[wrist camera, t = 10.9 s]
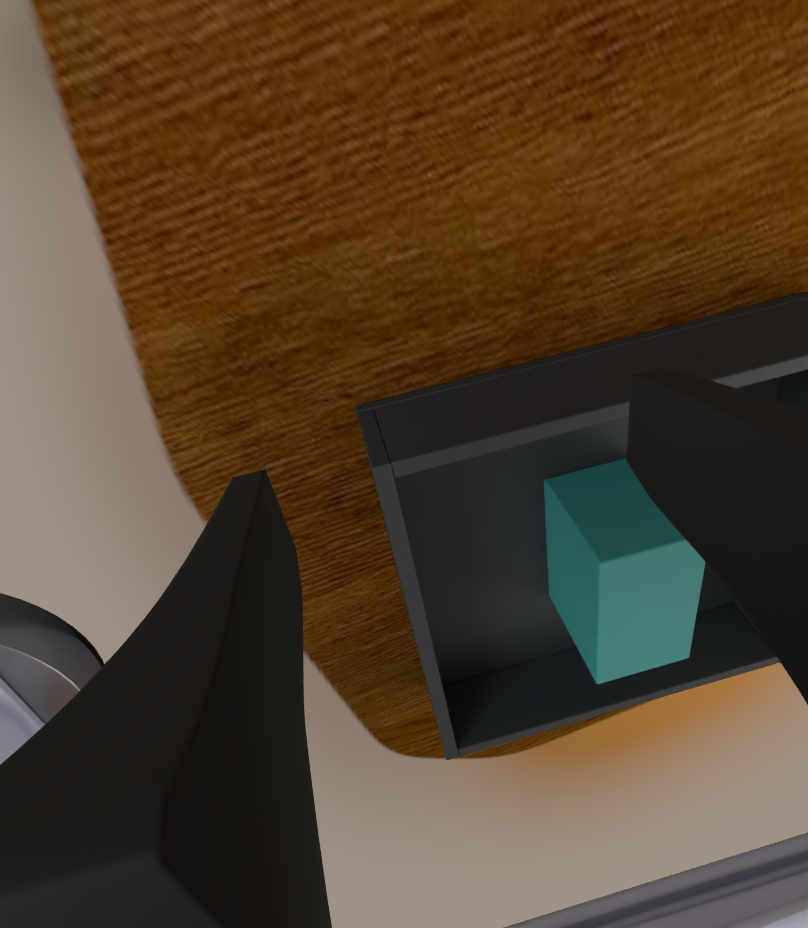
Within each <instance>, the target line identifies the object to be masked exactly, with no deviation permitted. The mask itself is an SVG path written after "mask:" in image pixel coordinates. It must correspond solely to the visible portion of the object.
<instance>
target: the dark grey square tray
mask: <svg viewBox="0 0 808 928" xmlns="http://www.w3.org/2000/svg"><path fill="white" fill-rule="evenodd" d="M660 367H662V368H667V369H672V370H676V371H680V372H684V373H687V374H691V375H694V376H698V377H701V378H704V379H708V380H711V381H714V382H717V383H721V384H724V385H727V386H730V387H733V388H737V389H740V390H743V391H746V392H750V393H753V394H756V395H759V396H763V397H766V398H770V399H773V400H776V401H780V402H783V403H787V404H790V405H794V406H797V407H801V408H805V409H808V293H807V292H803V293H799V294H795V295H791V296H787V297H783V298H779V299H775V300H771V301H767V302H763V303H759V304H755V305H751V306H747V307H743V308H740V309H736V310H732V311H728V312H724V313H720V314H716V315H712V316H708V317H704V318H700V319H696V320H692V321H688V322H684V323H680V324H676V325H673V326H669V327H665V328H661V329H657V330H653V331H649V332H645V333H641V334H637V335H633V336H629V337H625V338H621V339H617V340H613V341H610V342H606V343H602V344H598V345H594V346H590V347H586V348H582V349H578V350H574V351H570V352H566V353H562V354H558V355H554V356H550V357H546V358H543V359H539V360H535V361H531V362H527V363H523V364H519V365H515V366H511V367H507V368H503V369H499V370H495V371H491V372H487V373H483V374H479V375H476V376H472V377H468V378H464V379H460V380H456V381H452V382H448V383H444V384H440V385H436V386H432V387H428V388H424V389H420V390H416V391H413V392H409V393H405V394H401V395H397V396H393V397H389V398H385V399H381V400H377V401H373V402H369V403H365V404H361V405H357V406H356V407H355V409H356V413H357V417H358V421H359V424H360V428H361V432H362V436H363V440H364V444H365V448H366V452H367V455H368V459H369V463H370V467H371V471H372V475H373V479H374V483H375V486H376V490H377V494H378V498H379V502H380V506H381V510H382V514H383V517H384V521H385V525H386V529H387V533H388V537H389V541H390V545H391V548H392V552H393V556H394V560H395V564H396V568H397V572H398V576H399V580H400V583H401V587H402V591H403V595H404V599H405V603H406V607H407V611H408V614H409V618H410V622H411V626H412V630H413V634H414V638H415V642H416V645H417V649H418V653H419V657H420V661H421V665H422V669H423V673H424V676H425V680H426V684H427V688H428V692H429V696H430V699H431V703H432V707H433V711H434V715H435V718H436V722H437V726H438V730H439V734H440V737H441V741H442V745H443V749H444V752H445V756H446V759H447V760H450V759H453V758H456V757H459V756H462V755H466V754H469V753H473V752H476V751H479V750H483V749H486V748H490V747H493V746H497V745H500V744H503V743H507V742H510V741H514V740H517V739H520V738H524V737H527V736H531V735H534V734H537V733H541V732H544V731H548V730H551V729H555V728H558V727H561V726H565V725H568V724H572V723H575V722H578V721H582V720H585V719H589V718H592V717H596V716H599V715H602V714H606V713H609V712H613V711H616V710H619V709H623V708H626V707H630V706H633V705H636V704H640V703H643V702H647V701H650V700H654V699H657V698H660V697H664V696H667V695H670V694H674V693H677V692H681V691H684V690H687V689H691V688H694V687H697V686H701V685H705V684H708V683H712V682H715V681H718V680H722V679H725V678H729V677H732V676H735V675H739V674H742V673H745V672H749V671H753V670H756V669H759V668H763V667H766V666H769V665H773V664H776V663H777V662H778V663H780V661H779V659H778V658H777V656H776V654H775V653H774V651H773V650H772V648H771V647H770V645H769V644H768V642H767V641H766V639H765V638H764V637H763V635H762V634H761V632H760V631H759V630H758V628H757V627H756V625H755V624H754V622H753V621H752V620H751V618H750V617H749V615H748V614H747V612H746V611H745V610H744V608H743V607H742V605H741V604H740V603H739V601H738V600H737V599H736V597H735V596H734V595H733V594H732V592H731V591H730V590H729V589H728V587H727V586H726V585H725V584H724V582H723V581H722V580H721V579H720V578H719V577H718V575H717V574H716V573H715V572H714V571H713V570H712V569H711V568H710V566H709V565H708V564H707V563H706V562H705V568H704V574H703V580H702V585H701V591H700V597H699V603H698V609H697V614H696V620H695V626H694V632H693V638H692V643H691V649H690V655H689V658H687V659H683V660H680V661H676V662H673V663H670V664H666V665H663V666H659V667H656V668H652V669H649V670H645V671H642V672H639V673H635V674H632V675H628V676H625V677H621V678H618V679H614V680H611V681H607V682H604V683H601V684H597V683H596V682H595V680H594V678H593V676H592V674H591V672H590V671H589V669H588V667H587V665H586V663H585V661H584V659H583V658H582V656H581V654H580V652H579V650H578V648H577V646H576V645H575V643H574V641H573V639H572V637H571V635H570V633H569V632H568V630H567V628H566V626H565V624H564V622H563V620H562V618H561V617H560V615H559V613H558V611H557V609H556V607H555V605H554V604H553V602H552V600H551V598H550V596H549V584H548V562H547V541H546V519H545V498H544V480H545V479H548V478H551V477H555V476H559V475H563V474H566V473H570V472H574V471H578V470H581V469H585V468H589V467H593V466H596V465H600V464H604V463H608V462H611V461H615V460H619V459H623V458H626V457H627V439H628V421H629V403H630V384H631V375H633V374H637V373H640V372H644V371H648V370H652V369H656V368H660Z"/></svg>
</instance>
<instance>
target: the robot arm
mask: <svg viewBox="0 0 808 928" xmlns="http://www.w3.org/2000/svg"><path fill="white" fill-rule="evenodd" d="M626 461H627V462H628V464H629V465H630V467H631V469H632V470H633V472H634V474H635V475H636V477H637V479H638V480H639V482H640V483H641V485H642V486H643V488H644V489H645V491H646V492H647V494H648V495H649V497H650V498H651V500H652V501H653V502H654V503H655V504H656V506H657V507H658V508H659V509H660V510H661V512H662V513H663V514H664V515H665V516H666V517H667V519H668V520H669V521H670V522H671V523H672V524H673V525H674V527H675V528H676V529H677V530H678V531H679V532H680V533H681V535H682V536H683V537H684V538H685V539H686V540H687V541H688V543H689V544H690V545H691V546H692V547H693V548H694V549H695V551H696V552H697V553H698V554H699V555H700V556H701V557H702V558H703V560H704V561H705V562H706V563H707V564H708V565H709V566H710V568H711V569H712V570H713V571H714V572H715V573H716V574H717V575H718V577H719V578H720V579H721V580H722V581H723V582H724V584H725V585H726V586H727V587H728V589H729V590H730V591H731V592H732V594H733V595H734V596H735V597H736V599H737V600H738V601H739V603H740V604H741V605H742V607H743V608H744V610H745V611H746V612H747V614H748V615H749V617H750V618H751V620H752V621H753V622H754V624H755V625H756V627H757V628H758V630H759V631H760V632H761V634H762V635H763V637H764V638H765V639H766V641H767V642H768V644H769V645H770V647H771V648H772V650H773V651H774V653H775V654H776V656H777V658H778V659H779V661H780V662H781V664H782V665H783V667H784V668H785V670H786V671H787V673H788V674H789V676H790V677H791V679H792V680H793V682H794V683H795V685H796V686H797V688H798V689H799V691H800V693H801V694H802V696H803V698H804V699H805V701H806V703H807V704H808V409H805V408H801V407H797V406H794V405H790V404H787V403H783V402H780V401H776V400H773V399H770V398H766V397H763V396H759V395H756V394H753V393H750V392H746V391H743V390H740V389H737V388H733V387H730V386H727V385H724V384H721V383H717V382H714V381H711V380H708V379H704V378H701V377H698V376H694V375H691V374H687V373H684V372H680V371H676V370H672V369H667V368H662V367H660V368H656V369H652V370H648V371H644V372H640V373H637V374H633V375H631V384H630V403H629V421H628V439H627V457H626ZM303 693H304V687H303V601H302V588H301V580H300V573H299V566H298V559H297V553H296V547H295V545H294V542H293V540H292V537H291V535H290V532H289V529H288V527H287V524H286V522H285V519H284V517H283V514H282V511H281V509H280V506H279V504H278V501H277V498H276V496H275V493H274V491H273V488H272V486H271V483H270V480H269V478H268V475H267V473H266V470H265V469H264V470H260V471H257V472H253V473H249V474H245V475H241V476H237V477H233V479H232V480H231V482H230V483H229V485H228V487H227V489H226V490H225V492H224V494H223V496H222V498H221V499H220V501H219V503H218V505H217V507H216V509H215V510H214V512H213V514H212V516H211V518H210V519H209V521H208V523H207V525H206V527H205V528H204V530H203V532H202V534H201V535H200V537H199V538H198V540H197V542H196V544H195V545H194V547H193V549H192V550H191V552H190V554H189V556H188V557H187V559H186V560H185V562H184V563H183V565H182V566H181V568H180V569H179V571H178V572H177V574H176V575H175V577H174V578H173V580H172V581H171V583H170V585H169V586H168V587H167V589H166V590H165V592H164V593H163V595H162V596H161V597H160V599H159V600H158V602H157V603H156V604H155V605H154V607H153V608H152V610H151V611H150V612H149V613H148V615H147V616H146V617H145V618H144V620H143V621H142V622H141V623H140V625H139V626H138V627H137V628H136V629H135V631H134V632H133V633H132V634H131V636H130V637H129V638H128V639H127V640H126V641H125V643H124V644H123V645H122V646H121V647H120V648H119V650H118V651H117V652H116V653H115V654H114V655H113V656H112V657H111V658H110V659H109V660H108V661H107V662H106V663H105V664H104V666H103V667H102V668H101V669H100V670H99V671H98V672H97V673H96V674H95V675H94V676H93V677H92V678H91V679H90V680H89V682H88V683H87V684H86V685H85V686H84V687H83V688H82V689H81V690H80V691H79V692H78V693H77V694H76V695H75V696H74V697H73V698H72V699H71V700H70V701H69V702H68V703H67V704H66V705H65V706H64V707H63V708H62V709H61V710H60V711H59V712H58V713H57V714H56V715H55V716H54V717H53V718H51V719H50V720H49V721H48V722H47V723H46V724H44V723H43V722H42V721H41V720H40V718H39V717H38V716H37V715H36V714H35V713H34V712H33V711H32V710H31V709H30V708H29V707H28V706H27V705H26V704H25V703H24V702H23V701H22V700H21V699H20V698H19V697H18V696H17V694H16V693H15V692H14V691H13V690H12V689H11V688H10V687H9V686H8V685H7V684H6V683H5V682H4V681H3V680H2V679H1V678H0V928H332V925H331V919H330V912H329V906H328V899H327V892H326V885H325V879H324V871H323V864H322V857H321V850H320V843H319V836H318V828H317V820H316V812H315V805H314V797H313V789H312V781H311V773H310V764H309V755H308V747H307V737H306V730H305V716H304V694H303ZM504 928H808V833H805V834H802V835H799V836H796V837H793V838H790V839H786V840H783V841H780V842H777V843H774V844H770V845H767V846H764V847H760V848H758V849H754V850H751V851H748V852H745V853H741V854H738V855H735V856H732V857H728V858H725V859H722V860H719V861H716V862H713V863H709V864H706V865H703V866H700V867H696V868H693V869H690V870H687V871H684V872H680V873H677V874H674V875H671V876H668V877H664V878H661V879H658V880H655V881H652V882H648V883H645V884H642V885H639V886H636V887H632V888H629V889H626V890H623V891H620V892H616V893H613V894H610V895H607V896H604V897H601V898H597V899H594V900H591V901H588V902H584V903H581V904H578V905H575V906H572V907H568V908H565V909H562V910H559V911H556V912H552V913H549V914H546V915H543V916H540V917H537V918H533V919H530V920H527V921H524V922H520V923H517V924H514V925H511V926H508V927H504Z"/></svg>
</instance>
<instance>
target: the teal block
mask: <svg viewBox="0 0 808 928" xmlns="http://www.w3.org/2000/svg"><path fill="white" fill-rule="evenodd" d="M544 498H545V519H546V541H547V562H548V584H549V596H550V598H551V600H552V602H553V604H554V605H555V607H556V609H557V611H558V613H559V615H560V617H561V618H562V620H563V622H564V624H565V626H566V628H567V630H568V632H569V633H570V635H571V637H572V639H573V641H574V643H575V645H576V646H577V648H578V650H579V652H580V654H581V656H582V658H583V659H584V661H585V663H586V665H587V667H588V669H589V671H590V672H591V674H592V676H593V678H594V680H595V682H596V683H597V684H601V683H604V682H607V681H611V680H614V679H618V678H621V677H625V676H628V675H632V674H635V673H639V672H642V671H645V670H649V669H652V668H656V667H659V666H663V665H666V664H670V663H673V662H676V661H680V660H683V659H687V658H689V655H690V649H691V643H692V638H693V632H694V626H695V620H696V614H697V609H698V603H699V597H700V591H701V585H702V580H703V574H704V568H705V561H704V560H703V558H702V557H701V556H700V555H699V554H698V553H697V552H696V551H695V549H694V548H693V547H692V546H691V545H690V544H689V543H688V541H687V540H686V539H685V538H684V537H683V536H682V535H681V533H680V532H679V531H678V530H677V529H676V528H675V527H674V525H673V524H672V523H671V522H670V521H669V520H668V519H667V517H666V516H665V515H664V514H663V513H662V512H661V510H660V509H659V508H658V507H657V506H656V504H655V503H654V502H653V501H652V500H651V498H650V497H649V495H648V494H647V492H646V491H645V489H644V488H643V486H642V485H641V483H640V482H639V480H638V479H637V477H636V475H635V474H634V472H633V470H632V469H631V467H630V465H629V464H628V462H627V461H626V458H623V459H619V460H615V461H611V462H608V463H604V464H600V465H596V466H593V467H589V468H585V469H581V470H578V471H574V472H570V473H566V474H563V475H559V476H555V477H551V478H548V479H545V480H544Z"/></svg>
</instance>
